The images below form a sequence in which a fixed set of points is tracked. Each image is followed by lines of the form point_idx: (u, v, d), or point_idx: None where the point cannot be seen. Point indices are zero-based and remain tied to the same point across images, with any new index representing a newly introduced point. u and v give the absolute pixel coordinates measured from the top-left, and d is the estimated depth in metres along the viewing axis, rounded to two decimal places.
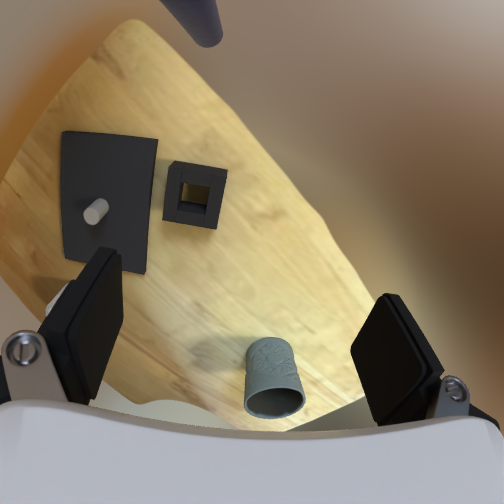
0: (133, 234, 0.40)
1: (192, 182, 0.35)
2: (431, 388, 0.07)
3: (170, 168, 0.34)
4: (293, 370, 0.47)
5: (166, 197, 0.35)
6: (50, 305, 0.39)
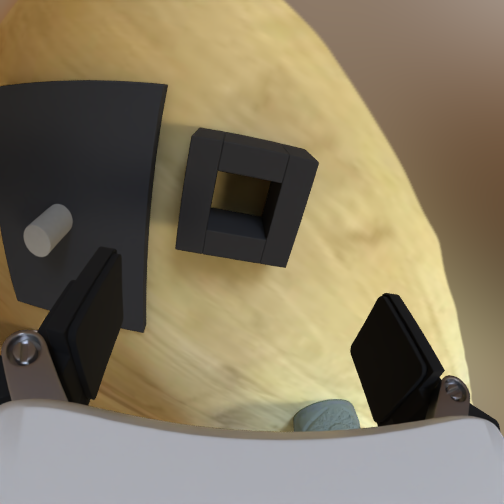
0: None
1: (244, 171, 0.16)
2: (431, 388, 0.07)
3: (195, 138, 0.15)
4: None
5: (184, 202, 0.17)
6: None
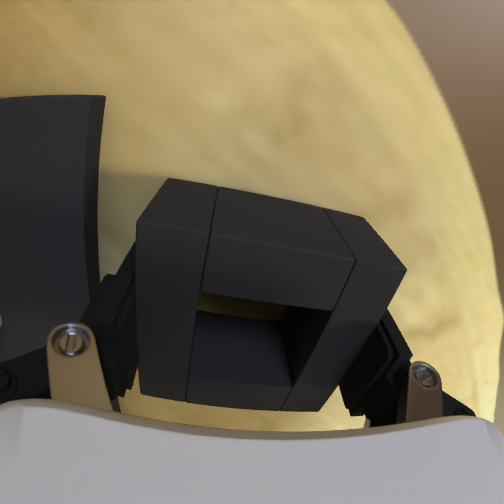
0: None
1: (258, 293, 0.08)
2: (400, 373, 0.08)
3: (146, 227, 0.06)
4: None
5: (143, 340, 0.08)
6: None
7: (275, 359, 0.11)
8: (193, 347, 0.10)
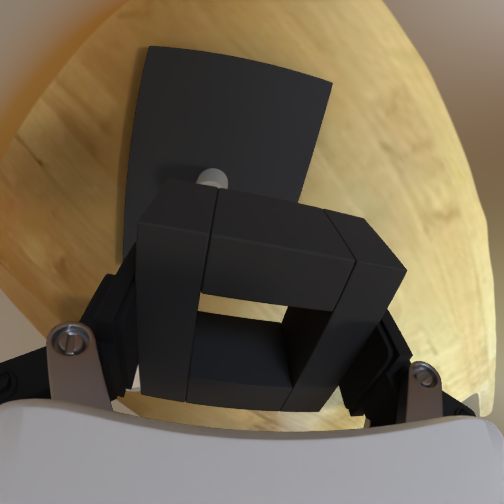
0: None
1: (258, 294, 0.08)
2: (400, 373, 0.08)
3: (146, 228, 0.07)
4: None
5: (143, 341, 0.08)
6: None
7: (275, 360, 0.11)
8: (193, 348, 0.10)
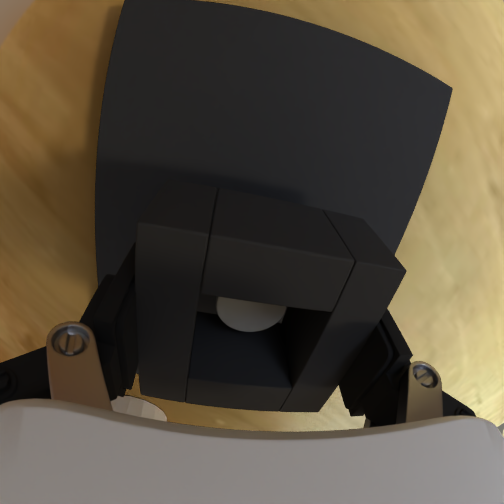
0: None
1: (257, 295, 0.08)
2: (400, 373, 0.08)
3: (145, 229, 0.07)
4: None
5: (143, 342, 0.08)
6: None
7: (275, 360, 0.11)
8: (193, 348, 0.10)
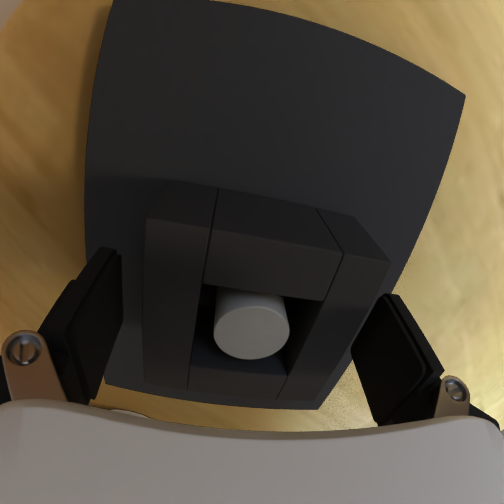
0: None
1: (254, 284, 0.08)
2: (431, 388, 0.07)
3: (153, 224, 0.07)
4: None
5: (148, 330, 0.09)
6: None
7: None
8: (194, 338, 0.11)
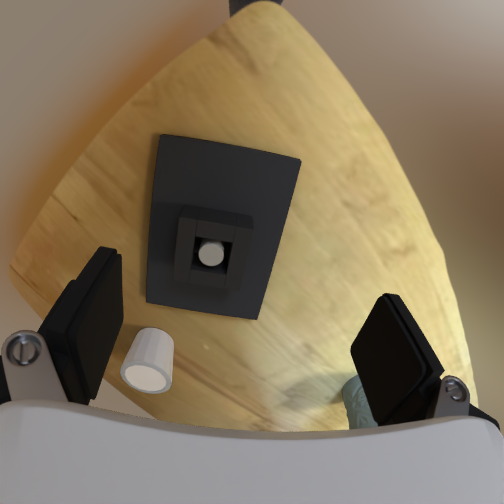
0: (253, 274, 0.34)
1: (210, 236, 0.28)
2: (431, 388, 0.07)
3: (181, 218, 0.27)
4: None
5: (177, 254, 0.29)
6: (130, 363, 0.33)
7: (221, 267, 0.31)
8: (192, 262, 0.31)
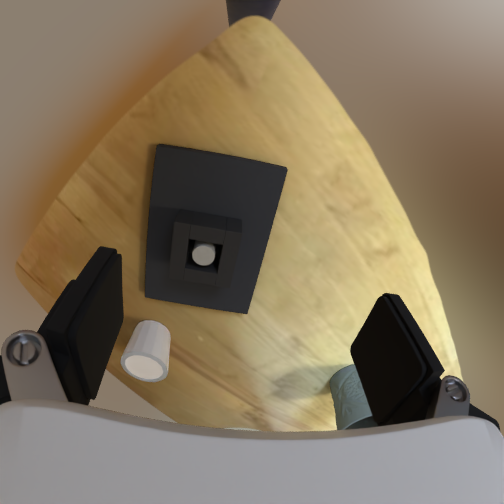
0: (243, 272, 0.37)
1: (202, 239, 0.31)
2: (431, 388, 0.07)
3: (176, 223, 0.30)
4: None
5: (172, 254, 0.31)
6: (130, 353, 0.36)
7: (213, 266, 0.34)
8: (187, 261, 0.34)
